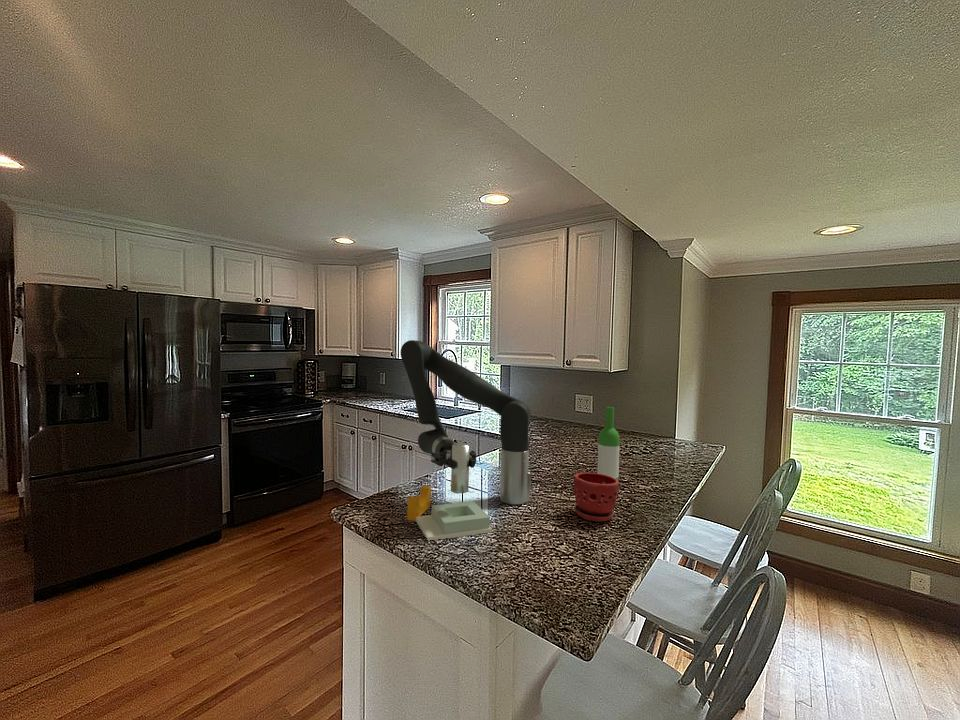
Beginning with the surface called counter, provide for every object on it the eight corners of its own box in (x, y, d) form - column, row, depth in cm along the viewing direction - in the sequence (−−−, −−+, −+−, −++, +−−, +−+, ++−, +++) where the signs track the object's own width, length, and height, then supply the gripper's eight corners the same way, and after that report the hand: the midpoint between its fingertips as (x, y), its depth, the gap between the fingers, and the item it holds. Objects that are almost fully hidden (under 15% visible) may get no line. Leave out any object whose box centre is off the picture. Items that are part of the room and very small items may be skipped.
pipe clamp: (417, 505, 130) (418, 485, 130) (430, 506, 129) (430, 486, 129) (401, 519, 119) (402, 497, 119) (415, 521, 118) (416, 499, 118)
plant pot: (605, 528, 116) (607, 487, 116) (565, 515, 125) (566, 476, 125) (624, 516, 126) (625, 477, 125) (585, 505, 134) (586, 469, 134)
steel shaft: (464, 486, 119) (466, 442, 118) (470, 492, 114) (472, 446, 114) (448, 488, 117) (450, 443, 117) (453, 494, 112) (455, 447, 112)
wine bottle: (603, 480, 163) (606, 405, 163) (621, 484, 157) (624, 407, 157) (593, 483, 158) (595, 406, 158) (611, 488, 152) (614, 408, 152)
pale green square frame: (473, 513, 124) (474, 500, 124) (491, 532, 111) (492, 517, 111) (415, 520, 118) (416, 506, 118) (427, 541, 105) (428, 525, 105)
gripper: (424, 439, 126) (439, 452, 110) (468, 437, 131) (487, 450, 115) (423, 463, 126) (438, 480, 110) (467, 461, 131) (487, 476, 115)
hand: (463, 464), depth 113 cm, fingers closed on steel shaft, 5 cm apart
